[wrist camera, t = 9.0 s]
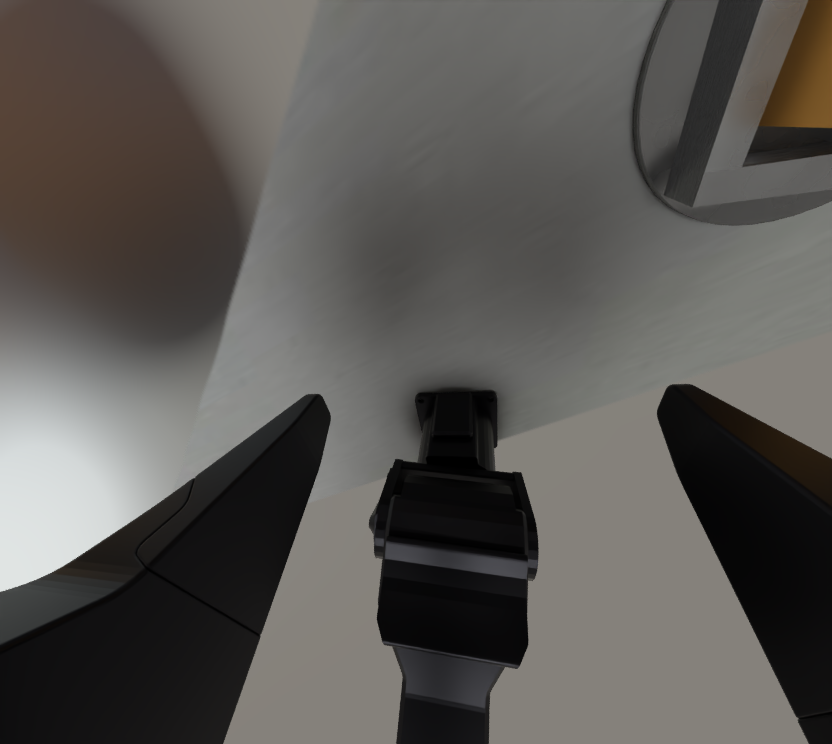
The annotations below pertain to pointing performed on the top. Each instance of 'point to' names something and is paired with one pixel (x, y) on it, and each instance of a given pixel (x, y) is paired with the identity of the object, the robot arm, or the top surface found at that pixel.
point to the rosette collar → (725, 115)
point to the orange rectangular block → (805, 74)
